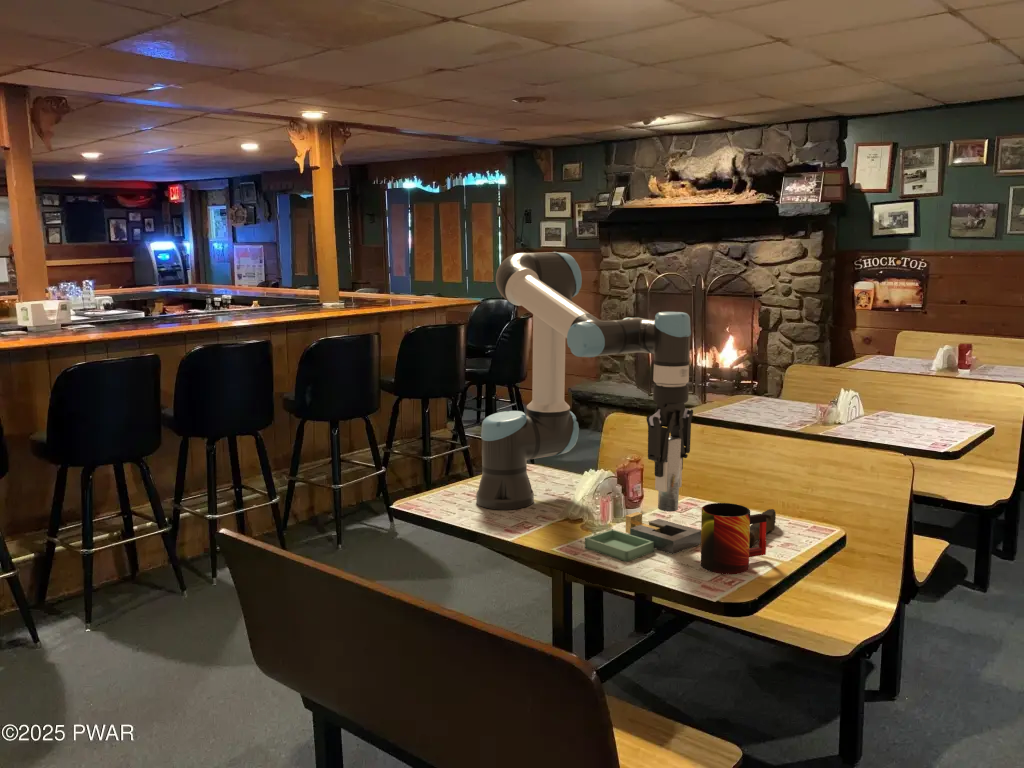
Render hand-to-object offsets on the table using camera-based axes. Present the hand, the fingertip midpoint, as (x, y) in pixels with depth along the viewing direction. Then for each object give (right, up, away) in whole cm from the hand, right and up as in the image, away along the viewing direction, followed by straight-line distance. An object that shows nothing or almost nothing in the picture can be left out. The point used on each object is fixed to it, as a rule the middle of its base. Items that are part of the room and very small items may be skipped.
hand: (668, 487), depth 184 cm
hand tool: (+21, -12, +6) cm, 25 cm away
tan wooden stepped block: (-4, -12, +7) cm, 14 cm away
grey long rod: (0, -5, +1) cm, 5 cm away
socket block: (0, -12, +2) cm, 13 cm away
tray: (-11, -13, -2) cm, 17 cm away
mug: (+11, -14, -11) cm, 21 cm away
